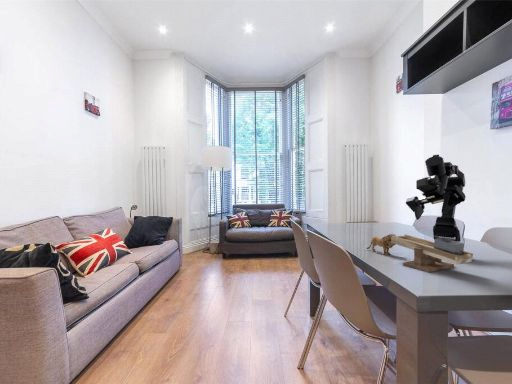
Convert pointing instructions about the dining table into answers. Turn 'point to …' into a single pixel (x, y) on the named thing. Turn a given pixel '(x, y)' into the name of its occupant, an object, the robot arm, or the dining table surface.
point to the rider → (449, 246)
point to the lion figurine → (382, 243)
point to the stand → (426, 262)
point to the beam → (430, 249)
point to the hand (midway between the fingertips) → (429, 216)
